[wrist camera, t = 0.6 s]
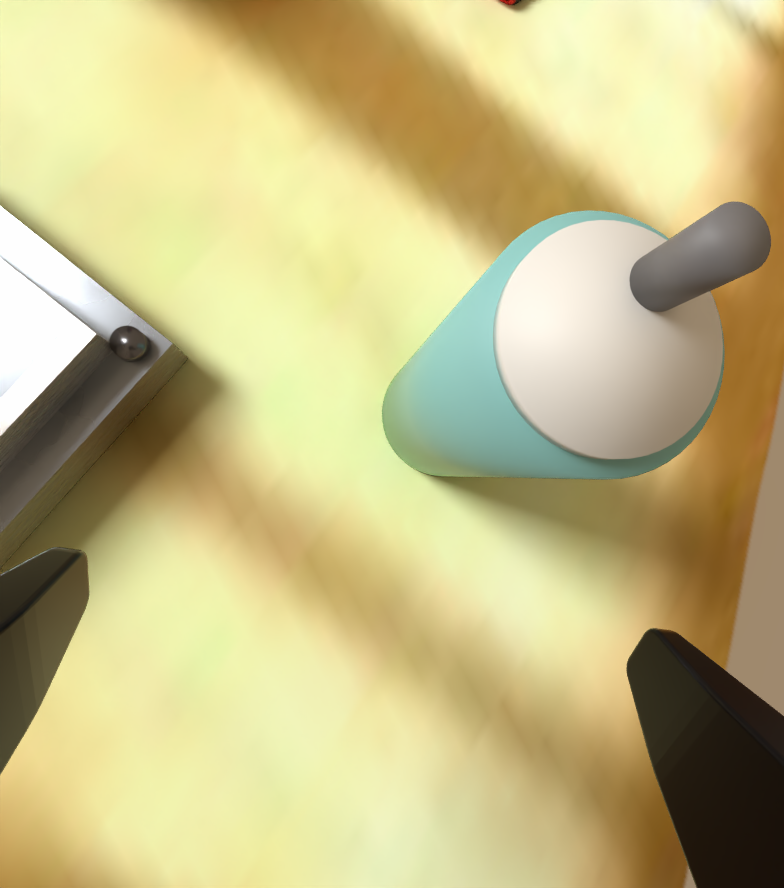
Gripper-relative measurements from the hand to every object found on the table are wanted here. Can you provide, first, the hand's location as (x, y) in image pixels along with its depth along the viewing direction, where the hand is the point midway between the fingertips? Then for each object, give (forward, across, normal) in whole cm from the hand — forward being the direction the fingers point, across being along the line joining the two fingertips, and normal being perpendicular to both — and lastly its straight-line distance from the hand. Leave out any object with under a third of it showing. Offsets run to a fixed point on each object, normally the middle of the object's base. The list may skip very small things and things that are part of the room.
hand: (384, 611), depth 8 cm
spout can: (+15, -4, +3) cm, 16 cm away
